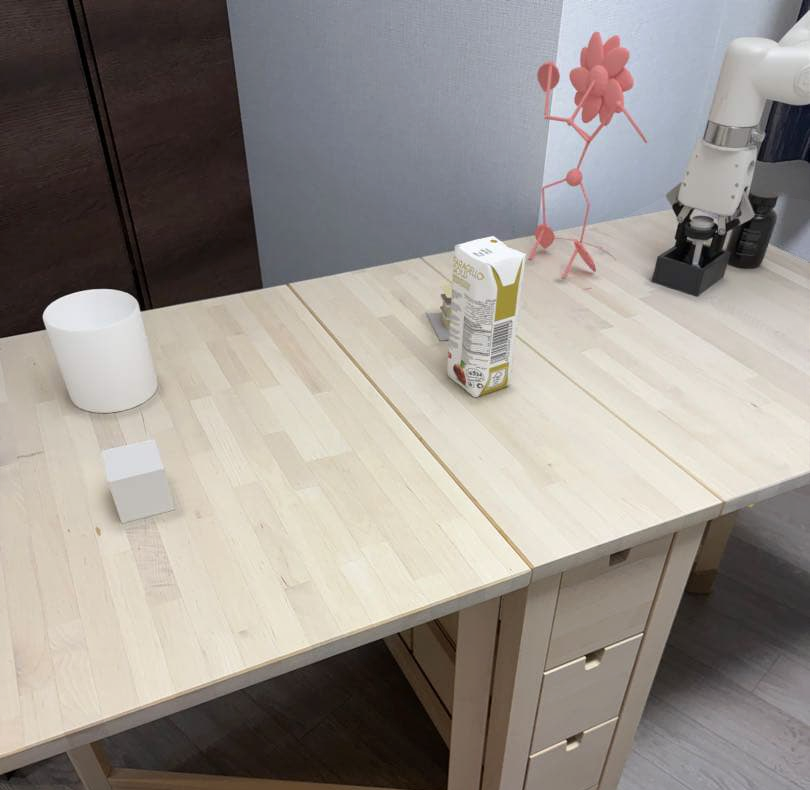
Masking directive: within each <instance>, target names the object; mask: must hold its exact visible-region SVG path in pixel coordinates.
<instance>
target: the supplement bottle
mask: <svg viewBox="0 0 810 790" xmlns="http://www.w3.org/2000/svg"><path fill="white" fill-rule="evenodd" d="M748 199H749V201H750V204H751V206H752V209H753V211H754V214H755V215H754V217H753V218H752V219H750V220H749V221H747V222H745V223H743V224H740V225H738V226H737V227H735V228H733V229H731V230H730V235H729V237H728V241H727V244H726V247H725V250H726V251H729V252H731V255H730V258H729V261H728V264H729V265H731V266H733V267H737V268H743V269H754V268H757V267H759V266H761V265H762V263H763V261H764V259H765V256H766V253H767V250H768V247H769V244H770V241H771V239H772V235H773V233H774V230H775V227H776V224H777V220H778V214H777V212H776V210H775V209H774V208H776V206H777V202H778V199H779V194H778V193H777V192H775V191H774V190H773V191H772V190H769V189H761V188H759V189H757V188H756V189H752V190H751V189H750V191H749V194H748ZM741 214H742V212H741V210H737V211H736V214H735V218H737V217H739V216H741Z"/></svg>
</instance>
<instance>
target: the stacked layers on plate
mask: <svg viewBox="0 0 810 790" xmlns="http://www.w3.org/2000/svg"><path fill="white" fill-rule="evenodd" d="M440 288H441V290H442V292H443V293H440V298H441V300H442V305H440V306H439V310H440V311H439V312H427V313H426V316H427V317H428V319H429V322H430V323H431V325H432V327H433V330H434V331H435V334H436V335H437V337H438V340H439V341H447V340H448V341H449V330H450V313H451V295H452V284H448V285H447V284H446V285H442V286H440Z"/></svg>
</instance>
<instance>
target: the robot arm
mask: <svg viewBox="0 0 810 790" xmlns="http://www.w3.org/2000/svg"><path fill="white" fill-rule="evenodd" d="M723 56H724V57H723V60H722V63H721V67H720V71H719V74H718V78H717V82H716V85H715V90H714V93H713V98H712V101H711V105H710V109H709V113H708V117H707V121H706V124H705V128H704V131H703V134H702V135H703V136H701V137H699V138H698V140H697V141H696V144H695V146H694V148H693V151H692V153H691V155H690V157H689V159H688V163H687V165H686V168H685V171H684V173H683V177H682V180H681V182H679V183H678V184H677V185H675V186H674V187H673V188H672V189H671V190H669V191H668V192H667V193H666V195H665V198H666V200H667V201H668V203H669V205H670V206H671V209H672V211H673V213H674V215H675V217H676V222H677V227H676V230H675V235H674V240H675V244H674V246H675V247H677V248H678V247H680V246H682V245H683V244H685V243H686V242H687V239H689V238H688V236H686V235H685V223H686V222H688V221H691V220H692V218H691V217H692V215H693V213H694V211H695V210H699V211H702V212H707V213H710V214H713V215H717V225H718V230H717V231H716V233H714V235H713V238H711V242H710V245H709V246H710V248H709V251H708V255H707V256H708V257H710V258H712V257H713V256H715V255H716V254H717V253H718V252H721V250H722V249H723V248H724V246H725V242H726V239H727V236H728V232H731V231H732V229H733V228H735V227H737V226H738V225H740V224H743V223H745V222H747V221H749V220H750V219H752V218H753V217H754V215H755V214H754V211H753V209H752V206H751V204H750V201H749V199H748V196H749V193H750V191H751V186H752V182H753V179H754V173H755V167H756V162H757V156H758V146H757V145H754V144H755V143H757V142H758V143H763V141H764V140H765V137H766V132H765V131H762V130H760V126H761V124H760V122H761V118H762V115H763V112H764V109H765V105H766V103H767V100H769V101H775V102H778V103H779V102H780V103H784V104H788V105H792V106H806V105H810V9H809V10H808V11H807V12H806V13H805V14H804V15H803V16H801V18H800V19H799V20H798V21H797V22H796V23H794V25H793V26H792V27H791V28H790V29H789V30H787V32H786V33H785V34H784V35H783V36H782V37H781V38H780V40H779V41H778V42H777V41H775V40H774V39H770V38H765V37H757V36H743V37H738V38H735V39H733V40H732V41H730V43H729V44H728V45H727V47H726V49H725V53H724V55H723ZM738 210H741V212H742V214H741V216H739V217H737V218H736V217H735V218H734V219H733V216H734V214H735V213H736V212H737V211H738Z"/></svg>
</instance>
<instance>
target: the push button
mask: <svg viewBox="0 0 810 790" xmlns="http://www.w3.org/2000/svg"><path fill="white" fill-rule="evenodd" d="M691 219H692V220H691V221H688V222H686V223H685V235H686V236H688V238H687V239H689V240H692V241H693V242H692V243H691V248H690V249H689V252H688V255H685V258H684V259H683V263H687V264H690V265H693V266H696V267H700V268H701V267H702V266H701V265H702V263H703V256H702V248H703V244H704V243H705V242H706V241H709V240H712V238H713V235H714V233H716V232H717V230H718V223H716V222H715V219H714V218H713V217H712V216H709V215H695V216H692V217H691Z"/></svg>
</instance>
